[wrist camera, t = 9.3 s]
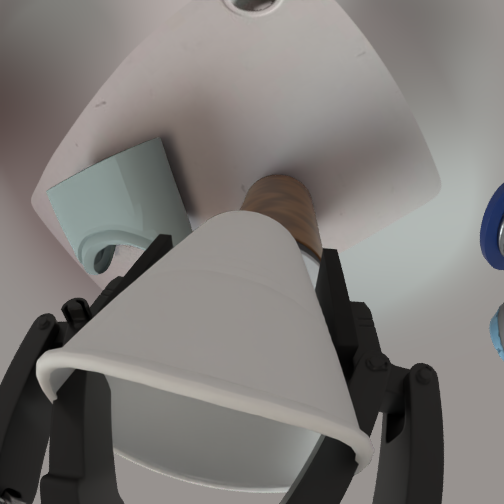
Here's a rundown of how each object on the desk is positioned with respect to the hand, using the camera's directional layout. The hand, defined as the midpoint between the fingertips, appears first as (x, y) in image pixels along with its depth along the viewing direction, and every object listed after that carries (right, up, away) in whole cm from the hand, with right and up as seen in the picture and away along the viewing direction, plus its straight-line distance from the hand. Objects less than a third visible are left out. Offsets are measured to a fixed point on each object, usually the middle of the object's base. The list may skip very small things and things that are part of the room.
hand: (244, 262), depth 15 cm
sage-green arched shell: (-20, +10, +31) cm, 38 cm away
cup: (0, 0, 0) cm, 0 cm away
